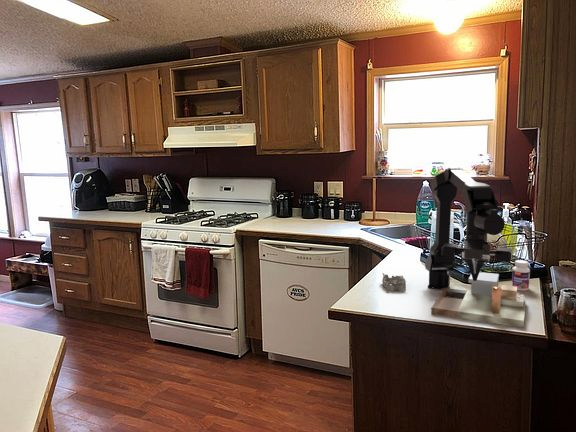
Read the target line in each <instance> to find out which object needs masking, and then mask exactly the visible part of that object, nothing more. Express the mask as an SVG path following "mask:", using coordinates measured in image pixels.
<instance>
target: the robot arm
mask: <svg viewBox="0 0 576 432" xmlns="http://www.w3.org/2000/svg"><path fill="white" fill-rule="evenodd" d="M430 188H431V192H432V193H431V194H432V196H433V197H434V199H435V201H436V212H435V235H434V237H435V238H434V243H433V245H431V247H430V249H429V254H428V256H427V258H426V260H425V262H424V267H425V270H426V271H428V284H427V288H429V289H436V290H443V288H449V287H450V286H451V273H450V272H453V271H454V269H455V268H454V267H455V263H456V256H455V255H458V254H459V255H461V260H462V261H463V262H466V264H467V266H468V268H469V271H470V275H472V278H473V281H476V280H477V278H478V275H479V273H480V272H481V270H482V268H483V266H484V264H485V263H489V262H490V261H491V257H493V258H495V259H496V260H497V261H498V262H507V263H508V262H509V263H510V262H511V261H512V258H513V257H512V256H513V250H512V249H511V248H510V247H499V246H497V247H496V250H495V249H492V242H490V241H488V235H491V236H496V235H499V234H501V233H502V232H503V231H504V230H505V226H506V223H505V219H504V218H503V217H502V215H500V214H499V209H500V208H499V202H498V199H497V197H496V195H495V192H494V190H493V188H492V187H491V185H489V184H487V183H484V182H477V181H475V180H474V178H473V177H470V175H468V173H466V172H464V169H463V168H460V167H448V168H446V169H444V171H443V172H441V173H438V174H437V175H435V176H434V177H433V179H432V180H431V182H430ZM458 191H460V192H461V193H462V196H461V199H462V200H463V202H464V203H465V206H466V207H465V209H464V210H465V211H466V226H465V227H466V229H465V240H464V243H463V247H460V246H459V245H458V244H457V243H450V237H451V219H452V216H451V215H452V203H453V202H454V199H456V197H457V196H458ZM475 260H477V261H475ZM475 272H476V273H475Z"/></svg>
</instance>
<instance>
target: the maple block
mask: <svg viewBox="0 0 576 432" xmlns="http://www.w3.org/2000/svg"><path fill="white" fill-rule="evenodd" d="M500 287H501V299H509V300H517V297H518V290H517V287H514V286H512V285H505V284H503V285H502V284H501V286H500Z"/></svg>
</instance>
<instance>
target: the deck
mask: <svg viewBox="0 0 576 432" xmlns="http://www.w3.org/2000/svg"><path fill="white" fill-rule="evenodd" d="M517 300H518V301H520V296H517ZM526 301H527V299H526V297H524V303H523V307H518V306H511V305H503V304H500V312H492V311H491V302H492V296H488V295H480V294H472V293H471V290H465V289H458V288H457V289H455V288H449V287H448V288H443V289H441V292H440V293H439V295H438V296H437V298H436V300H435V301H434V303H433V305H432V306H431V313H430V314H431V315H437V316H441V317H442V316H444V317H451V318H457V319H463V320H469V321H470V320H471V321H477V322H484V323H490V324H497V325H504V326H511V327H517V328H522V329H523V328H524V326H525V325H524V324H525V314H526V313H525V312H526Z"/></svg>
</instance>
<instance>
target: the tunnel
mask: <svg viewBox="0 0 576 432" xmlns="http://www.w3.org/2000/svg"><path fill="white" fill-rule="evenodd" d="M475 273H476V271H475ZM499 277H500V274H499V273H491V272H490V273H489V272H484V271H483V272H481V271H480V273H479V275H478V278H477V280H476V281H473V278H472V275H471V274H470V276H469V277H468V283H469V284H470V291H471V293H472V294H480V295H488V296H492V287H494V286H496V287H499V282H500V281H499Z"/></svg>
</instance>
